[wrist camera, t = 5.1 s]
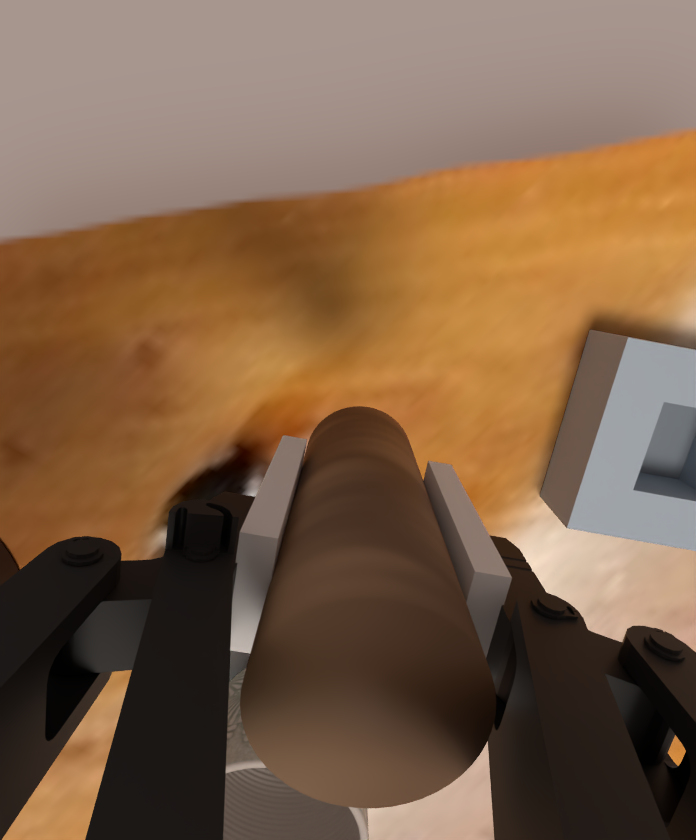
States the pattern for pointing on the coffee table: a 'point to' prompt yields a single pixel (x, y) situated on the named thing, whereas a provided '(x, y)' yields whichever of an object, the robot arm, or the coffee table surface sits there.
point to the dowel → (365, 632)
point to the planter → (275, 796)
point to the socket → (628, 443)
